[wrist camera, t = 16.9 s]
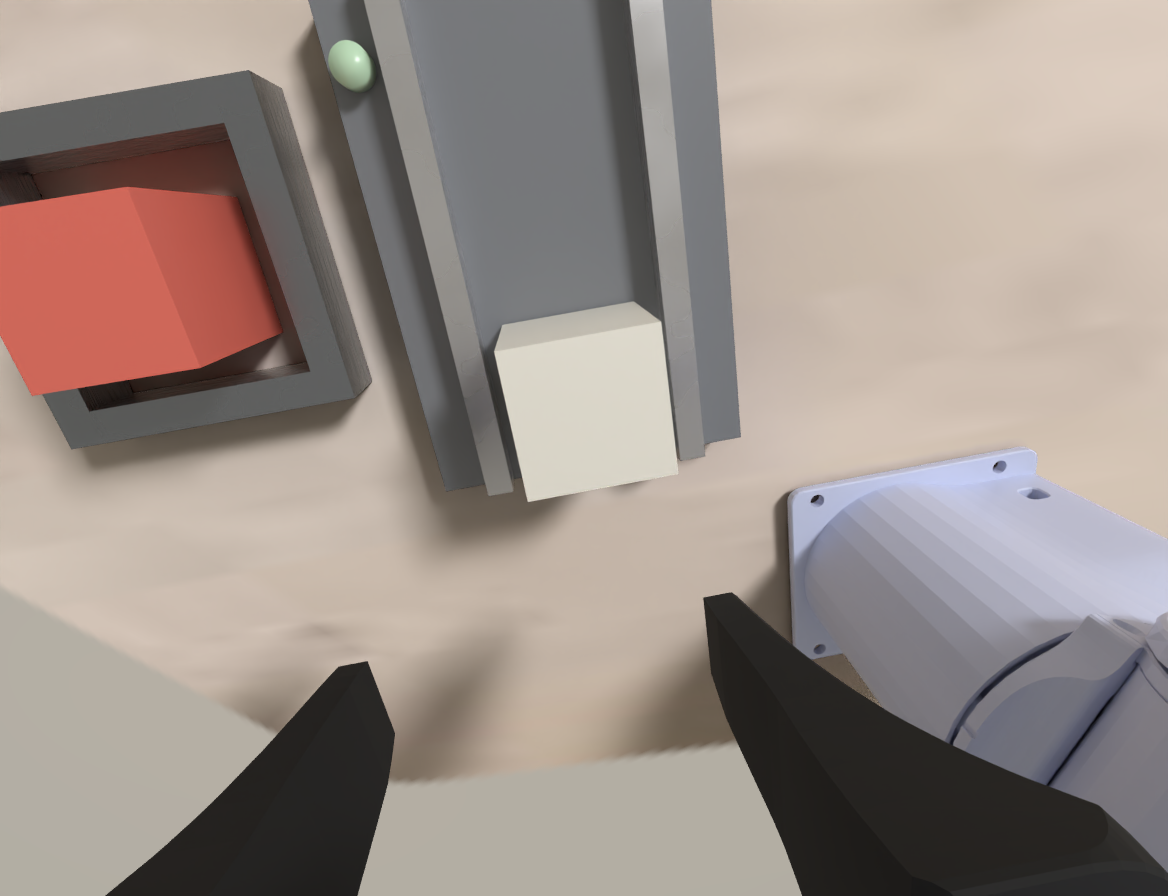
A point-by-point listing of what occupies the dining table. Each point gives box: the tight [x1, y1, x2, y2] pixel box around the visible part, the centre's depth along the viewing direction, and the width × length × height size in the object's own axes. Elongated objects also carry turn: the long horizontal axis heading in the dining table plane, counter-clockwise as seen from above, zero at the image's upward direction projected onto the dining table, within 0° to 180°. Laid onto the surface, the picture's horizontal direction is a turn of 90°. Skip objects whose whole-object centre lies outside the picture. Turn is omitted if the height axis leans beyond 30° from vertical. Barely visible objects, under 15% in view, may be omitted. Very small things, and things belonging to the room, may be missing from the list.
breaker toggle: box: [494, 301, 678, 502], centre depth 16 cm, size 4×4×4 cm
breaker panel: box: [308, 0, 741, 496], centre depth 17 cm, size 10×14×2 cm
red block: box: [0, 187, 283, 396], centre depth 15 cm, size 4×4×5 cm
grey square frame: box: [0, 70, 372, 449], centre depth 17 cm, size 8×8×2 cm
